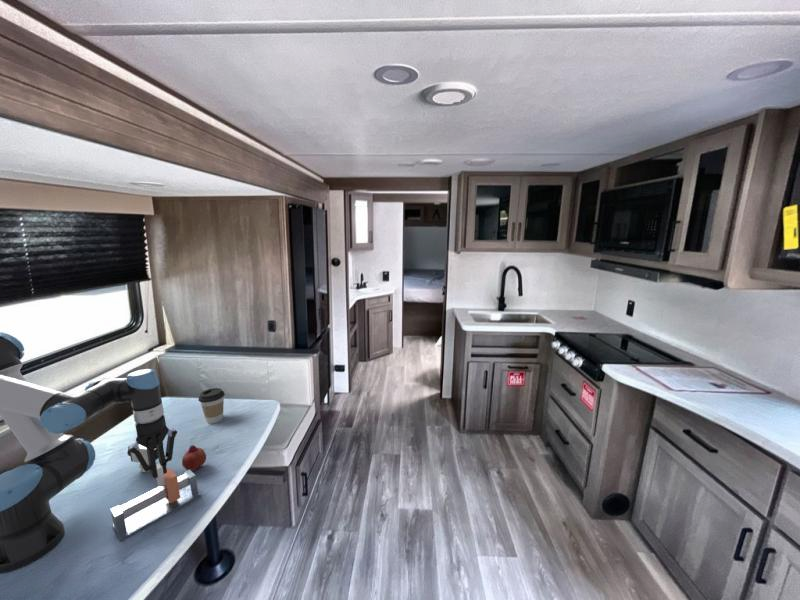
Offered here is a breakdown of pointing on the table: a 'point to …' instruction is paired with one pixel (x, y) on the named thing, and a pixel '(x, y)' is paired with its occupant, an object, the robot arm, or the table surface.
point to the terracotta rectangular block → (171, 486)
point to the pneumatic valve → (145, 455)
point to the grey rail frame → (152, 507)
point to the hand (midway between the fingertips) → (161, 484)
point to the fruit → (193, 458)
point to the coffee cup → (212, 404)
